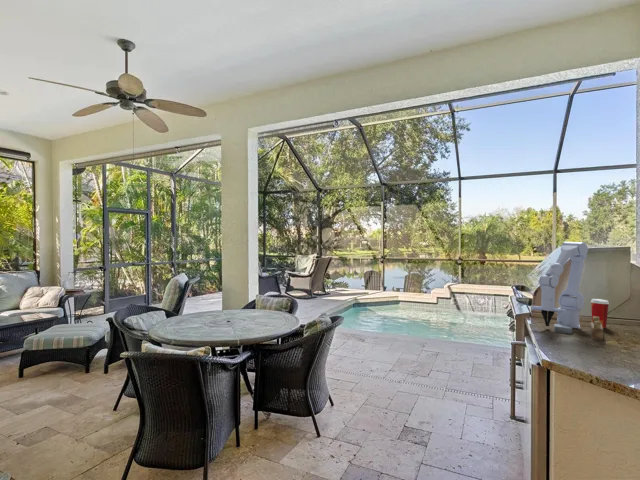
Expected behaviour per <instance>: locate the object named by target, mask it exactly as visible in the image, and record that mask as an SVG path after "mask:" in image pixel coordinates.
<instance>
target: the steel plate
mask: <svg viewBox="0 0 640 480" xmlns="http://www.w3.org/2000/svg"><path fill="white" fill-rule="evenodd" d="M553 330H554V331H553V332H554V333H561V334H569V335H573V328H572V327H571V326H570V325H562V324H558V323H554V324H553Z"/></svg>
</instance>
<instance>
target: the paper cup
mask: <svg viewBox="0 0 640 480" xmlns="http://www.w3.org/2000/svg"><path fill="white" fill-rule="evenodd" d="M590 303H591V304H590V305H591V306H590V307H591V322H593V316H596V317H599V322H601V324H602V328H603V329H607V322H608V315H609V314H608V311H609V305H610V303H609V300H607V299H602V298H591V300H590Z"/></svg>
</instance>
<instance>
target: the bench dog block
mask: <svg viewBox="0 0 640 480" xmlns="http://www.w3.org/2000/svg"><path fill="white" fill-rule="evenodd" d="M589 330H590V337H591V338H590V339H591V340H597V341H601V342H602V341H603V340H604V339H603V338H604V328H602V324H601V322H599V317H596V316H593V322H592V321H590V329H589Z"/></svg>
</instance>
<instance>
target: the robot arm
mask: <svg viewBox="0 0 640 480" xmlns="http://www.w3.org/2000/svg"><path fill="white" fill-rule="evenodd" d="M560 251H561V252H560V254H559V255H558V257H557V259H556V261H555V262H554V263H552V264H550V267H549V268H548V269H547V270H546V272H545V273H544V274H543V275H540V277H539V280H538V284H539V286H540V287H539V288H540V289H541V296H540V297H541V299H540V301H541V303H540V305H530V310H531V311H539V312H540V313H541V315H542V317H543V320H544V322H545V323H544V325H545V327H550V322H551V321H552V318H553V316H554V315H555V313H556V314H557V317H556V318H557V319H556V322H557V324H562V325H570V326H571V327H572V329H581V325H580V311H582V309H584V307H585V296H584V295H583V294H582V293H581V292H580V287H581V282H582V276H583V270H584V264H585V260H586V259H587V257H588V251H589V246H588V245H587V243H586V242H585V241H581V242H580V241H563V242H562V244H561V246H560ZM568 260H571V264H570V268H569V269H570V270H569V276H568V279H567V280H568V281H567V286H566V289H565V290H563V291H562V292H560V296H559V298H558V304H559V306H560V307H558V308H557V307H556V287H558V285H559V281H560V276H561V275H562V274H563V272H564V269H565V268H564V266H565V264H566V263H567V261H568Z"/></svg>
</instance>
